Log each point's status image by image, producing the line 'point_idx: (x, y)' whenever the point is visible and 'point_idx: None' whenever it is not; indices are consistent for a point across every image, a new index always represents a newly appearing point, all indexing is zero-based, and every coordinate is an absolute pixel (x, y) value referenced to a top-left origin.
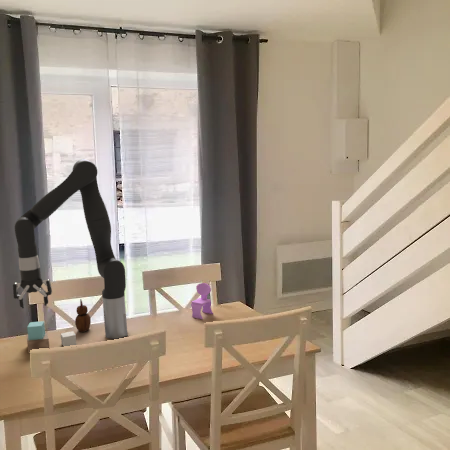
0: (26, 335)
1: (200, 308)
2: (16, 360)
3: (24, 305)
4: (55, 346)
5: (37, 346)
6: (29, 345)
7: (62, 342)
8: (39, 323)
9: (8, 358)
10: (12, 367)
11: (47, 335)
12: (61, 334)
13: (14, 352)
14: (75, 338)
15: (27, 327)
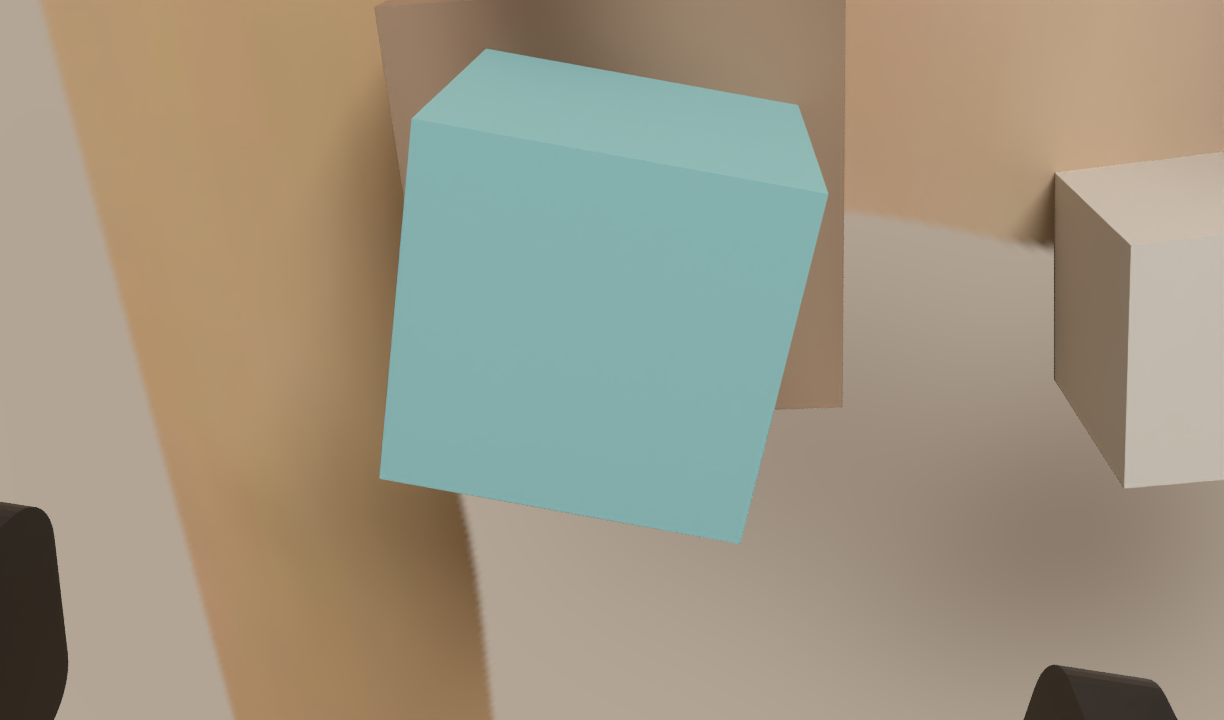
0: (375, 13)
1: None
2: (335, 509)
3: (3, 562)
4: (934, 204)
5: None
6: None
7: (1079, 313)
8: (688, 340)
9: (201, 391)
10: (321, 697)
11: (836, 224)
12: (1132, 318)
13: (243, 182)
14: None
15: (388, 474)
